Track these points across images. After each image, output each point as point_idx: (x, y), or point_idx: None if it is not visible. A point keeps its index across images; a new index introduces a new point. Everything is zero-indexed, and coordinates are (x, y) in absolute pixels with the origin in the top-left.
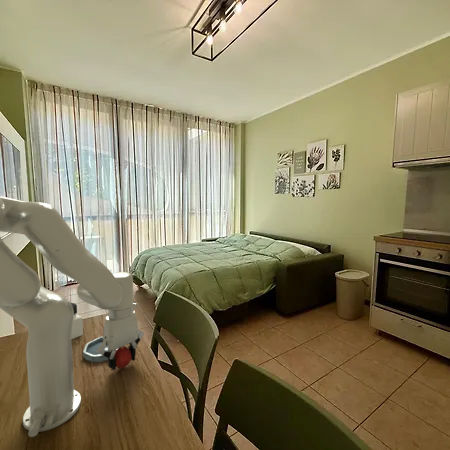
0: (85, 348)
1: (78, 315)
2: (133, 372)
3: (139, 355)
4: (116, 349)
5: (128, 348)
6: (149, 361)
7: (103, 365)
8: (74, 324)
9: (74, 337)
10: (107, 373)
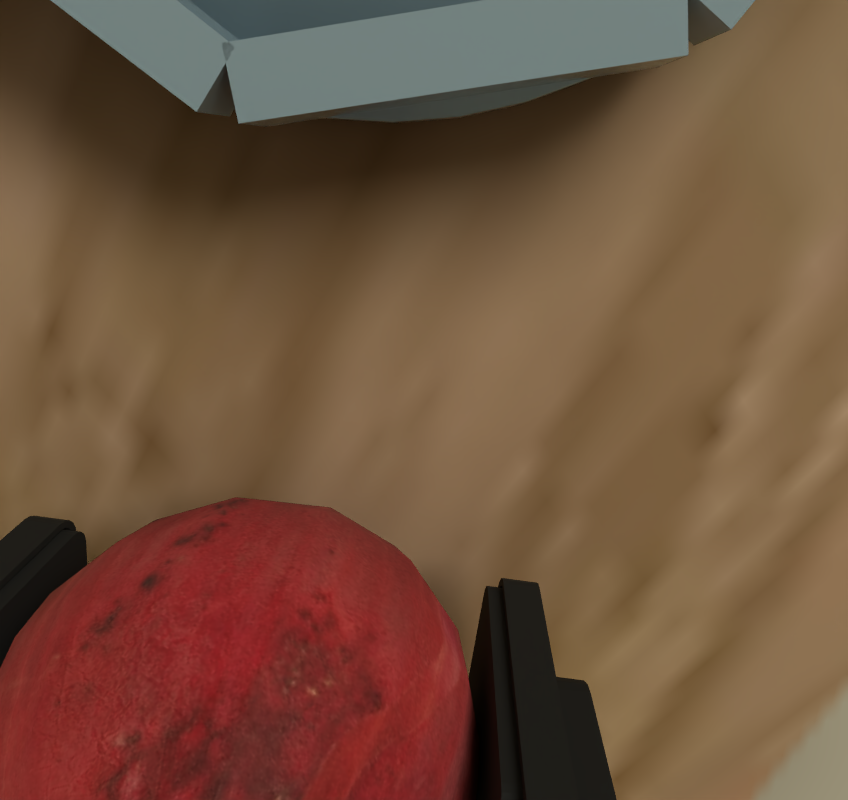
0: None
1: None
2: None
3: (758, 517)
4: (482, 57)
5: (498, 770)
6: (707, 777)
7: (76, 192)
8: None
9: None
10: (43, 484)
